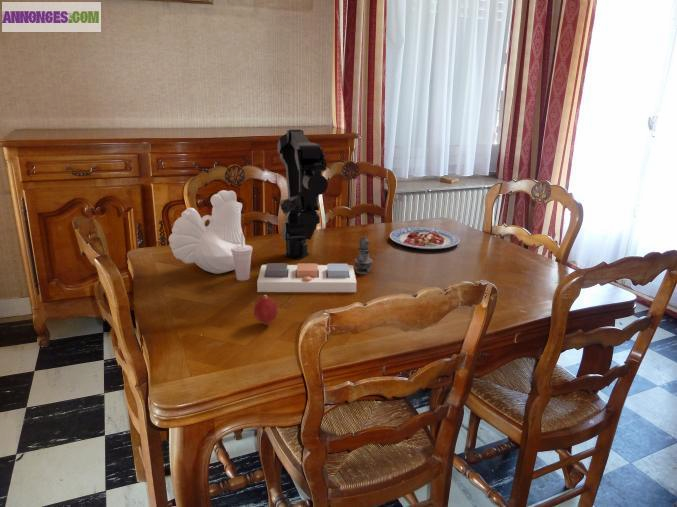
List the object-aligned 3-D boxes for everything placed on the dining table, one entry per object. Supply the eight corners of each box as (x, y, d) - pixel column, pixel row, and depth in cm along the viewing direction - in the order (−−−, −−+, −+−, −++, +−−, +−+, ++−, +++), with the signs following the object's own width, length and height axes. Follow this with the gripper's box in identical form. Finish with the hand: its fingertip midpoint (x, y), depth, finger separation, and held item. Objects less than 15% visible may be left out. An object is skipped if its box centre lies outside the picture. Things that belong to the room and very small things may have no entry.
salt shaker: (371, 275, 162) (372, 238, 158) (352, 273, 163) (353, 236, 159) (373, 268, 168) (375, 233, 164) (355, 267, 169) (356, 231, 165)
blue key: (327, 280, 152) (328, 270, 151) (327, 272, 158) (327, 263, 157) (348, 280, 152) (348, 270, 151) (347, 273, 158) (347, 263, 157)
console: (257, 291, 148) (257, 280, 147) (262, 274, 161) (261, 263, 160) (356, 292, 149) (356, 280, 148) (352, 274, 162) (353, 263, 161)
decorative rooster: (235, 256, 176) (232, 183, 168) (256, 270, 164) (254, 192, 156) (160, 270, 162) (153, 191, 154) (178, 287, 150) (170, 202, 142)
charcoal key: (265, 280, 151) (265, 270, 150) (267, 272, 157) (267, 263, 156) (286, 280, 151) (286, 270, 150) (287, 272, 157) (287, 263, 156)
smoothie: (257, 276, 159) (256, 232, 155) (247, 283, 154) (245, 238, 149) (238, 273, 161) (236, 229, 157) (228, 280, 155) (225, 235, 151)
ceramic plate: (391, 230, 210) (391, 223, 209) (456, 234, 206) (457, 227, 205) (387, 251, 185) (388, 243, 184) (461, 255, 182) (462, 247, 181)
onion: (255, 319, 131) (254, 290, 129) (278, 318, 132) (277, 289, 129) (253, 330, 126) (252, 299, 123) (277, 329, 127) (277, 299, 124)
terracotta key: (296, 280, 151) (296, 270, 150) (297, 272, 157) (297, 263, 156) (317, 280, 152) (317, 270, 151) (317, 272, 157) (317, 263, 156)
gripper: (282, 182, 162) (283, 230, 167) (279, 194, 144) (280, 248, 149) (318, 182, 162) (318, 230, 167) (320, 194, 145) (319, 248, 150)
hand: (308, 239), depth 158 cm, fingers closed
